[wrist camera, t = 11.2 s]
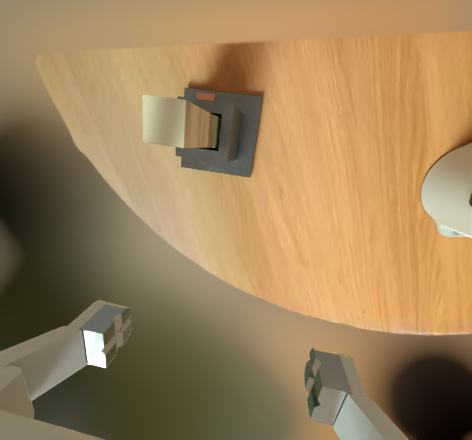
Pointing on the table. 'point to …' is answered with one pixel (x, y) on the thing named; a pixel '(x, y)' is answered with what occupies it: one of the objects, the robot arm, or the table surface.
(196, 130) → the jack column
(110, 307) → the robot arm
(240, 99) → the jack sleeve
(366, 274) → the table surface
